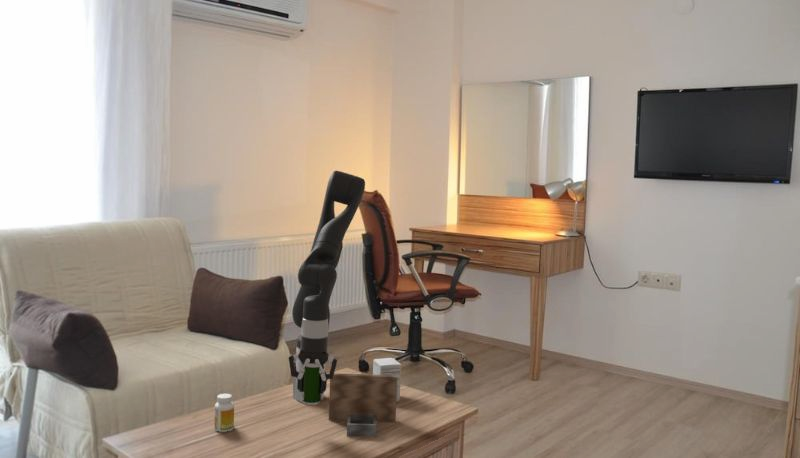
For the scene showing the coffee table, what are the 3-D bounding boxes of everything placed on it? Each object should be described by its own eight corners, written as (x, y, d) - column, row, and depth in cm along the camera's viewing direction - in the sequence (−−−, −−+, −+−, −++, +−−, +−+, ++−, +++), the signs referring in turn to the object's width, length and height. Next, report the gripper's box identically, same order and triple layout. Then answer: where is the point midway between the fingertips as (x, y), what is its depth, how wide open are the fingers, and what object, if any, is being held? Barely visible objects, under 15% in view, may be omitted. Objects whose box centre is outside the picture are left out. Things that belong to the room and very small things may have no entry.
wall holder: (325, 435, 194) (327, 387, 193) (329, 418, 207) (330, 373, 205) (396, 437, 195) (398, 390, 193) (395, 420, 208) (397, 375, 206)
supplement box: (371, 395, 228) (372, 358, 226) (392, 393, 230) (393, 357, 229) (378, 403, 221) (380, 365, 219) (400, 401, 224) (401, 363, 222)
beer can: (306, 406, 191) (308, 364, 189) (298, 399, 195) (300, 359, 194) (323, 403, 194) (325, 362, 192) (315, 397, 198) (317, 357, 197)
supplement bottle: (237, 426, 198) (238, 394, 197) (226, 433, 193) (227, 400, 192) (221, 423, 200) (221, 391, 198) (210, 430, 195) (210, 397, 193)
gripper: (286, 335, 188) (283, 395, 190) (338, 339, 188) (335, 398, 190) (291, 328, 196) (288, 385, 198) (341, 331, 196) (338, 388, 198)
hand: (311, 391), depth 194 cm, fingers closed on beer can, 5 cm apart
